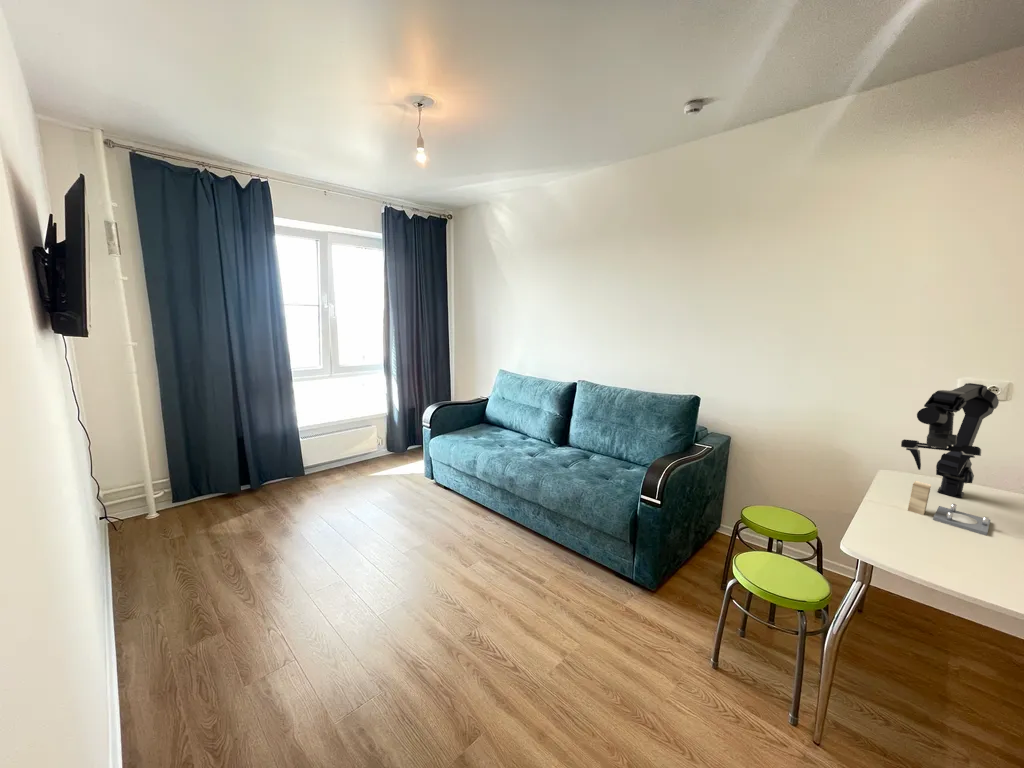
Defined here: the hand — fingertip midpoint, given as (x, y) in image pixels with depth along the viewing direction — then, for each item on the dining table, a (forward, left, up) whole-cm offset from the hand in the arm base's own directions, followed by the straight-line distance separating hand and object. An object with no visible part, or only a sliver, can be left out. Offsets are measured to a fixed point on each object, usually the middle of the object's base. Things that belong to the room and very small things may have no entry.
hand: (938, 472), depth 141 cm
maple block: (+4, -3, -14) cm, 15 cm away
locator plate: (+2, +8, -14) cm, 16 cm away
